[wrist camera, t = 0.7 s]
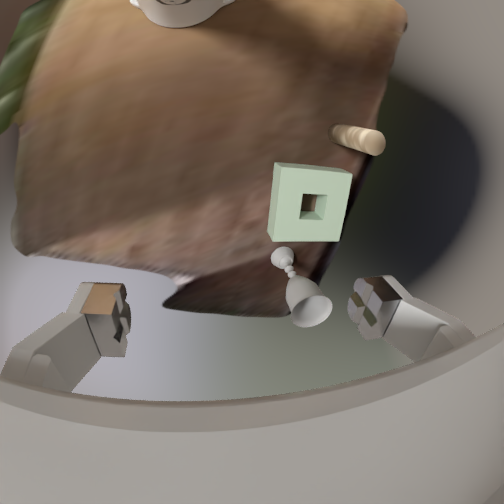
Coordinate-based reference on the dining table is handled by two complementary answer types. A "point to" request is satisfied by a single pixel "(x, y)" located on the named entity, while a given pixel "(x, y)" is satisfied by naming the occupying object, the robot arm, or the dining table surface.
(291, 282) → the chalice
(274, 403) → the robot arm
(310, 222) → the socket block
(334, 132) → the peg
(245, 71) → the dining table surface
